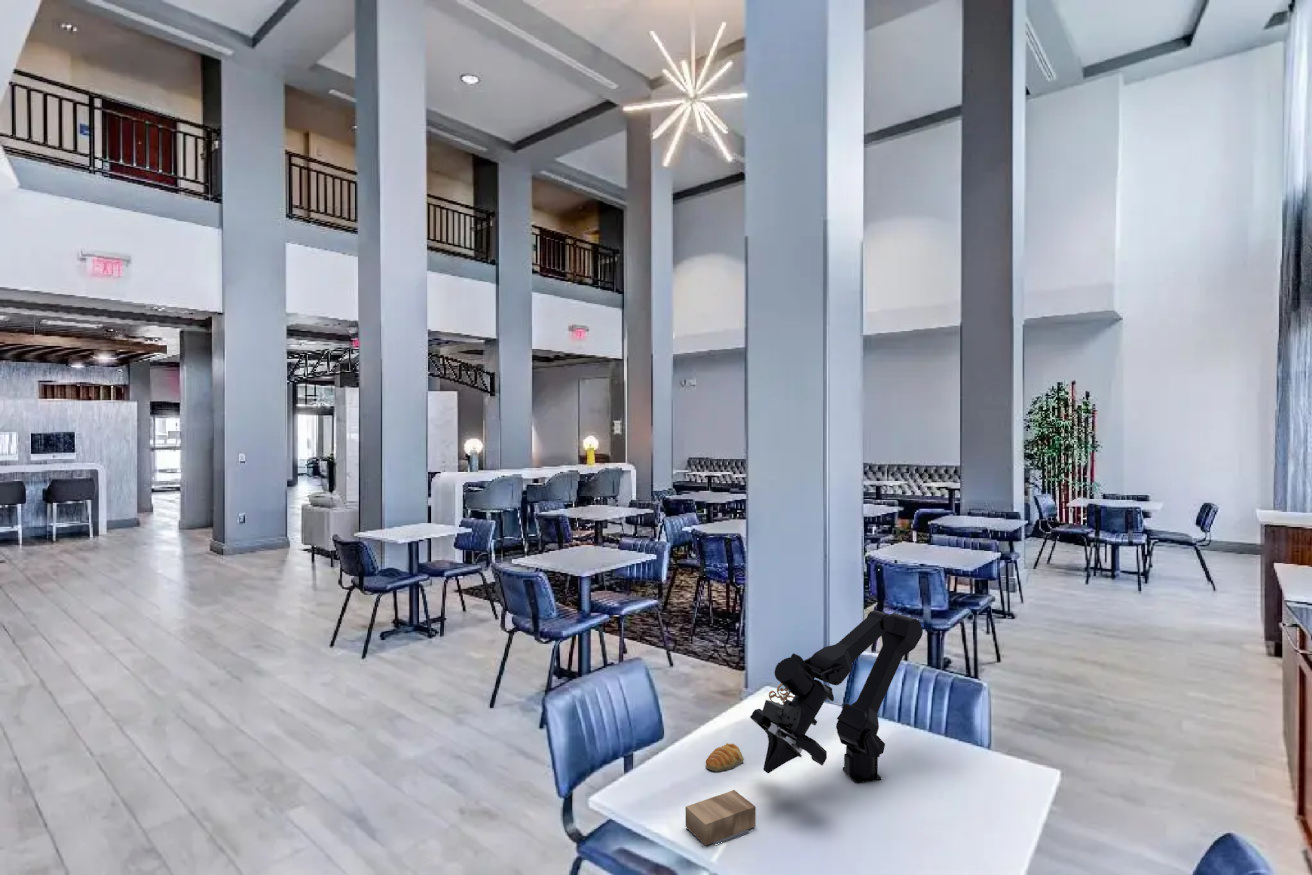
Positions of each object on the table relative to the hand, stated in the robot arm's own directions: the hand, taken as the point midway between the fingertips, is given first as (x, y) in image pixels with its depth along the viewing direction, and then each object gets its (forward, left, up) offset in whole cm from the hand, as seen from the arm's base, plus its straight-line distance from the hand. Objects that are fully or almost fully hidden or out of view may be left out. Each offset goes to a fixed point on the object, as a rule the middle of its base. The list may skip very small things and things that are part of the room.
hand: (765, 771), depth 140 cm
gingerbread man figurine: (-19, -35, -9) cm, 41 cm away
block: (+5, +2, -6) cm, 8 cm away
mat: (+11, +4, -8) cm, 14 cm away
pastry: (+2, -21, -9) cm, 23 cm away
